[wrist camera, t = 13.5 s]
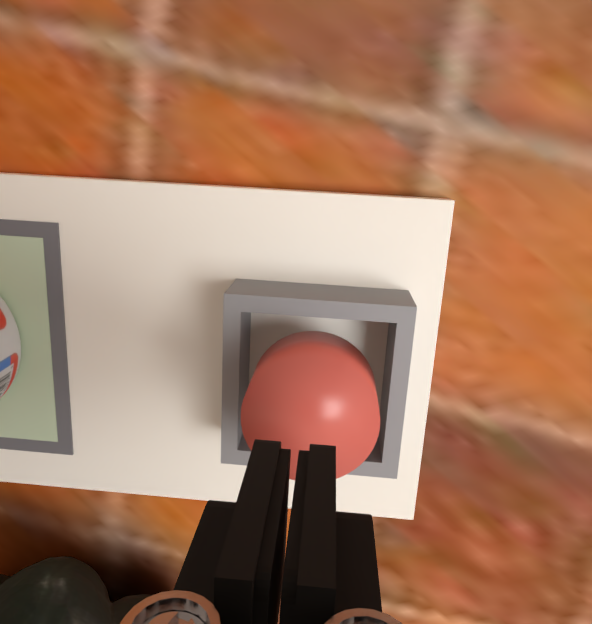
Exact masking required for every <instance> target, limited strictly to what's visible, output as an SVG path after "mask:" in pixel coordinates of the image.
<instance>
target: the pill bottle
mask: <svg viewBox="0 0 592 624" xmlns="http://www.w3.org/2000/svg"><path fill="white" fill-rule="evenodd" d="M20 359H21V340H20V335H19V331H18V327H17V324H16V322H15V319H14V317H13V315H12V313H11V311H10V309H9V307H8V306H7V304H6V303H5V301H4V300H3V299H2V298H1V296H0V398H1V397H2V396H3V395H4V394H5V393H6V392H7V390H8V389H9V388H10V386H11V385H12V383H13V381H14V379H15V377H16V374H17V371H18V368H19V365H20Z"/></svg>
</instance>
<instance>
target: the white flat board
mask: <svg viewBox="0 0 592 624" xmlns="http://www.w3.org/2000/svg"><path fill="white" fill-rule="evenodd" d="M454 202H455V201H454V200H452V199H446V198H429V197H412V196H395V195H378V194H361V193H344V192H327V191H310V190H293V189H276V188H259V187H242V186H225V185H208V184H191V183H174V182H157V181H140V180H123V179H106V178H89V177H72V176H55V175H38V174H21V173H4V172H0V296H1V298H2V299H3V300H4V301H5V303H6V304H7V306H8V307H9V309H10V311H11V313H12V315H13V317H14V319H15V322H16V324H17V327H18V331H19V335H20V340H21V359H20V365H19V368H18V371H17V374H16V377H15V379H14V381H13V383H12V385H11V386H10V388H9V389H8V390H7V392H6V393H5V394H4V395H3V396H2V397H1V398H0V481H2V482H13V483H23V484H34V485H45V486H56V487H66V488H77V489H88V490H98V491H109V492H120V493H131V494H141V495H152V496H163V497H174V498H184V499H195V500H206V501H209V500H215V501H226V502H236V501H237V498H238V495H239V491H240V488H241V484H242V481H243V478H244V474H245V471H246V467H247V464H248V461H249V457H250V454H251V450H250V448H249V447H248V445H247V443H246V440H245V438H244V435H243V432H242V427H241V406H242V402H243V399H244V396H245V394H246V391H247V389H248V386H249V384H250V381H251V379H252V376H253V374H254V371H255V369H256V366H257V364H258V362H259V360H260V358H261V357H262V355H263V354H264V353H265V352H266V350H267V349H268V348H269V347H270V346H272V345H273V344H274V343H276V342H277V341H278V340H280V339H282V338H284V337H286V336H288V335H291V334H294V333H298V332H303V331H321V332H327V333H331V334H334V335H337V336H339V337H342V338H343V339H345V340H347V341H349V342H350V343H351V344H353V345H354V346H355V347H356V348H357V349H358V350H359V351H360V352H361V353H362V354H363V355H364V357H365V358H366V359H367V361H368V363H369V365H370V367H371V369H372V372H373V375H374V379H375V385H376V391H377V398H378V404H379V411H380V430H379V435H378V438H377V442H376V444H375V446H374V448H373V450H372V452H371V453H370V454H369V456H368V457H367V458H366V460H365V461H364V462H363V463H362V464H361V465H360V466H358V467H357V468H356V469H355V470H353V471H351V472H350V473H348V474H346V475H344V476H342V477H340V478H337V479H336V511H339V512H350V513H362V514H371V515H372V516H377V517H388V518H399V519H409V520H413V518H414V511H415V503H416V495H417V488H418V480H419V472H420V464H421V457H422V449H423V441H424V433H425V426H426V418H427V410H428V403H429V395H430V387H431V379H432V372H433V364H434V356H435V349H436V341H437V333H438V325H439V318H440V310H441V302H442V294H443V287H444V279H445V271H446V264H447V256H448V248H449V240H450V233H451V225H452V217H453V210H454ZM294 485H295V480H291V479H289V493H288V508H292V500H293V492H294Z"/></svg>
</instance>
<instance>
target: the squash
mask: <svg viewBox="0 0 592 624" xmlns="http://www.w3.org/2000/svg"><path fill="white" fill-rule="evenodd" d="M149 596H152V595H151V594H139V595H131V596H125V597H123V598H121V599H119V600H117V601H115V602H113V603H112V602H110V599H109V595H108V591H107V588H106V586H105V585H104V583H103V581H102V580H101V578H100V577H99V575H98V573H97V572H96V571H95V570H94V569H93V568H91V567H90V566H89V565H87V564H86V563H84V562H82V561H80V560H78V559H75V558H73V557H66V556H61V557H50V558H47V559H45V560H43V561H40V562H38V563H36V564H33V565H31V566H29V567H26V568H24V569H22V570H21V571H19V572H17V573H16V574H14V575H13V576H11V577H10V576H6V575H2V574H0V624H120V622H121V621H122V619H123V618H124V617H125V615H126V614H127V613H128V612H129V611H130V610H131V609H132V608H133V606H135V605H136V604H138V603H139V602H141V601H142V600H144V599H145V598H147V597H149Z"/></svg>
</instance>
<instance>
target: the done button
mask: <svg viewBox="0 0 592 624" xmlns="http://www.w3.org/2000/svg"><path fill="white" fill-rule="evenodd" d="M241 427H242V432H243V435H244V438H245V440H246V443H247V445H248V447H249V448H250V450H252V447H253V444H254V441H255V439H259V440H271V441H281V448H282V449H291V458H290V476H289V479H291V480H295V477H296V469H297V461H298V453H299V450H306V451H309V448H310V444H319V445H331V446H336V479H337V478H340V477H342V476H344V475H346V474H348V473H350V472H351V471H353V470H355V469H356V468H357V467H358V466H360V465H361V464H362V463H363V462H364V461H365V460H366V458H367V457H368V456H369V454H370V453H371V452H372V450H373V448H374V446H375V444H376V442H377V438H378V435H379V430H380V411H379V404H378V398H377V391H376V385H375V379H374V375H373V372H372V369H371V367H370V365H369V363H368V361H367V359H366V358H365V357H364V355H363V354H362V353H361V352H360V351H359V350H358V349H357V348H356V347H355V346H354V345H353V344H351V343H350V342H349V341H347V340H345V339H343V338H342V337H339V336H337V335H334V334H331V333H327V332H321V331H303V332H298V333H294V334H291V335H288V336H286V337H284V338H282V339H280V340H278V341H277V342H276V343H274V344H273V345H272V346H270V347H269V348H268V349H267V350H266V352H265V353H264V354H263V355H262V357H261V358H260V360H259V362H258V364H257V366H256V369H255V371H254V374H253V376H252V379H251V381H250V384H249V386H248V389H247V391H246V394H245V396H244V399H243V402H242V406H241Z"/></svg>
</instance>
